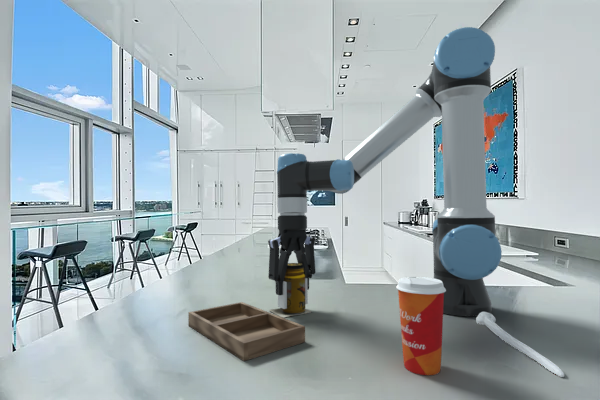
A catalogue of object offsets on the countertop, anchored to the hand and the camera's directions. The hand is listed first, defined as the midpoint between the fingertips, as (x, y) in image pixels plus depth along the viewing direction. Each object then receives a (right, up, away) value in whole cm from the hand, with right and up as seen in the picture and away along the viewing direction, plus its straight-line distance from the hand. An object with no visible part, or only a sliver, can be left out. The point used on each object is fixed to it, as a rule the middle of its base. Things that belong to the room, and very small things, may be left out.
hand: (293, 305), depth 90 cm
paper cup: (+21, 0, -33) cm, 39 cm away
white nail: (+43, -1, -23) cm, 49 cm away
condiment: (-1, -2, -1) cm, 2 cm away
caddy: (-10, -1, -16) cm, 19 cm away
